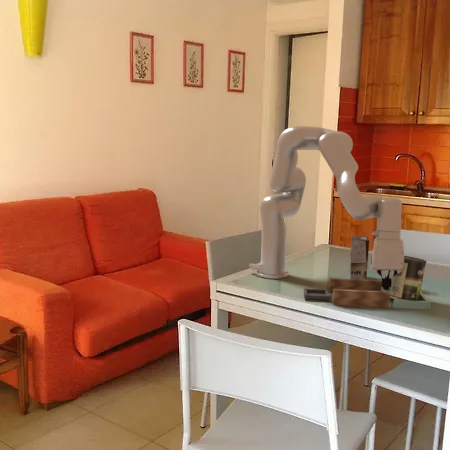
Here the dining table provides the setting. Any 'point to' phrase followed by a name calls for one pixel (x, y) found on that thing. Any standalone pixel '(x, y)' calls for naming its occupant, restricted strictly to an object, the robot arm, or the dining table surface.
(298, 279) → the dining table surface
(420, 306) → the dock
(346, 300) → the channel
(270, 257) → the robot arm
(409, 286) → the coffee can
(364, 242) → the coffee box
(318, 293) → the tray
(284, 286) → the dining table surface
